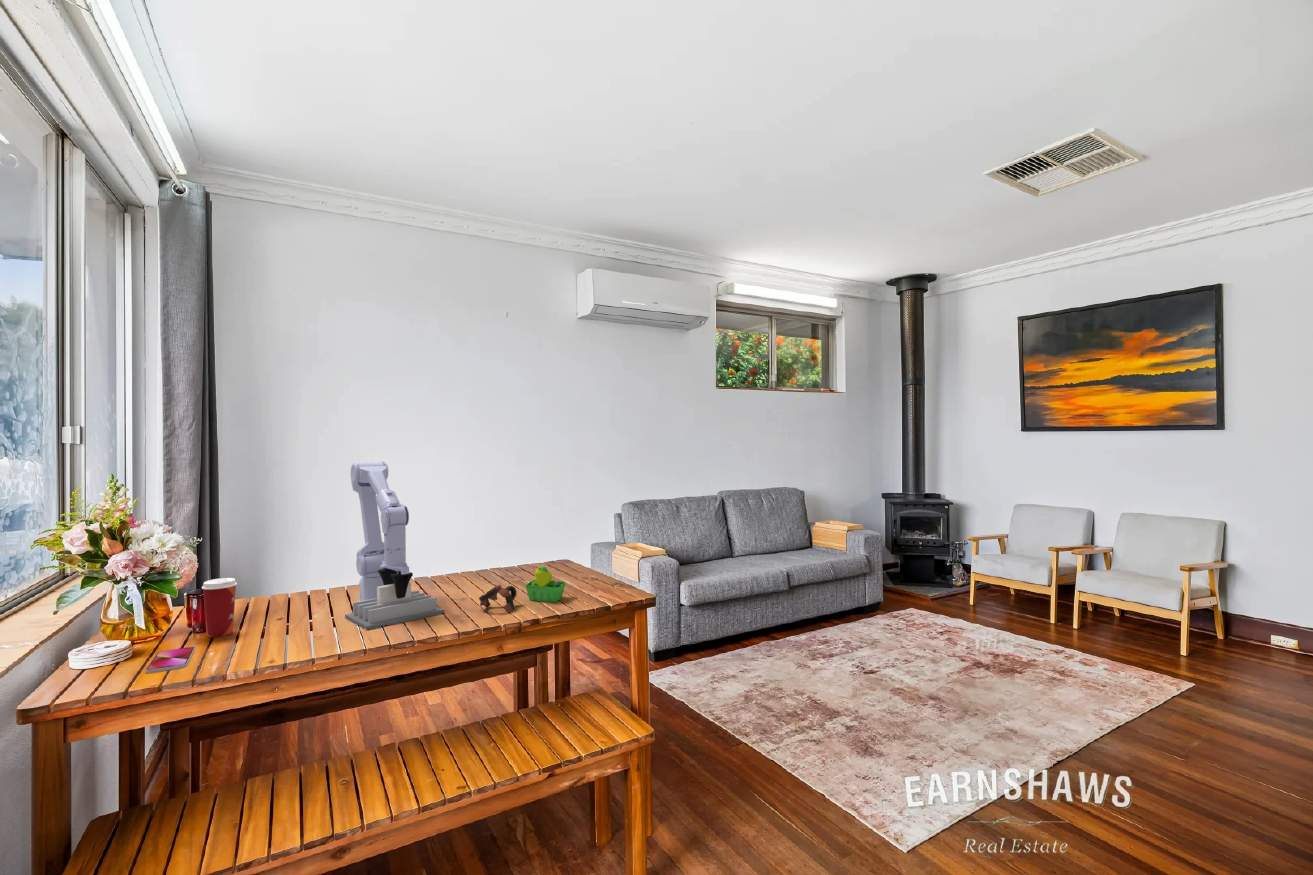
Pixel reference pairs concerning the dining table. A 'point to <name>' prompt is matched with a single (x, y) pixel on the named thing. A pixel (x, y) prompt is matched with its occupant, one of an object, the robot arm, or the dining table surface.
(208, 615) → the paper cup
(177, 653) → the smartphone
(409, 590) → the cream plate
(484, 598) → the dark brown curved piece
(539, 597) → the fruit basket
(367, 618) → the dish rack
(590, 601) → the dining table surface
